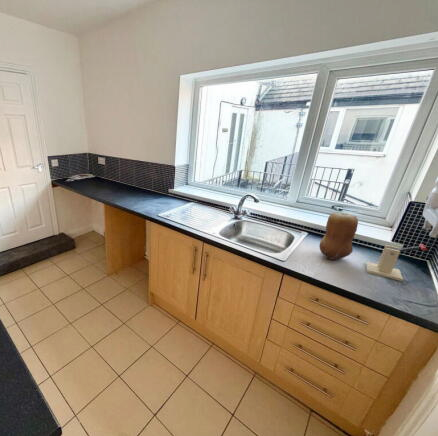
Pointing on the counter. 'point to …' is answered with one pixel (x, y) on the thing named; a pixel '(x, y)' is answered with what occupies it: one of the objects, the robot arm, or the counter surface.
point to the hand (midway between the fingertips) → (429, 233)
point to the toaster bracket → (386, 264)
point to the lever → (412, 248)
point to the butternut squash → (339, 235)
